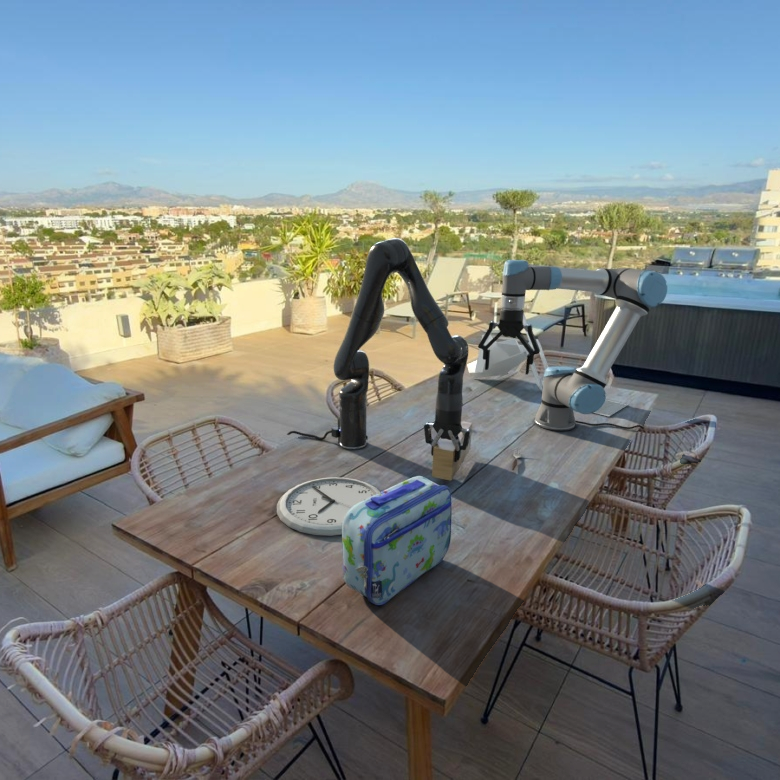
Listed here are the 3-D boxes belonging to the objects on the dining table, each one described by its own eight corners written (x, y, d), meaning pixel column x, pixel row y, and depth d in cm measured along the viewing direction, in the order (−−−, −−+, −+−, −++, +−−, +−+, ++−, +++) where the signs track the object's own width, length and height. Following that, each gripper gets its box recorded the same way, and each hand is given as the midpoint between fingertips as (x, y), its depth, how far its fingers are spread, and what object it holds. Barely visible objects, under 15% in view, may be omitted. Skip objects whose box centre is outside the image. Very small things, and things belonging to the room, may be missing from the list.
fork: (508, 471, 164) (508, 465, 164) (514, 451, 179) (515, 446, 178) (516, 472, 164) (517, 466, 163) (522, 452, 178) (523, 447, 177)
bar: (453, 445, 176) (454, 420, 173) (470, 448, 174) (472, 422, 171) (431, 476, 155) (433, 447, 152) (451, 480, 153) (453, 451, 150)
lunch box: (371, 618, 102) (371, 524, 95) (336, 591, 109) (334, 502, 103) (455, 562, 119) (460, 479, 113) (420, 542, 126) (423, 463, 120)
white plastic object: (488, 420, 264) (468, 397, 239) (469, 347, 286) (449, 319, 261) (560, 396, 252) (546, 369, 227) (534, 322, 274) (519, 290, 249)
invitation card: (608, 416, 214) (573, 407, 224) (608, 416, 214) (573, 408, 224) (628, 404, 229) (594, 396, 238) (628, 405, 229) (594, 397, 238)
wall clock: (392, 527, 129) (268, 531, 127) (391, 533, 130) (269, 537, 127) (383, 473, 158) (282, 475, 155) (383, 478, 158) (282, 480, 156)
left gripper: (421, 406, 149) (418, 459, 154) (470, 413, 144) (466, 468, 149) (428, 398, 156) (426, 450, 161) (476, 405, 151) (472, 458, 156)
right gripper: (471, 307, 172) (468, 369, 178) (550, 313, 163) (543, 378, 170) (477, 304, 179) (473, 364, 185) (552, 309, 170) (545, 372, 176)
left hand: (445, 458), depth 155 cm, fingers closed on bar, 6 cm apart
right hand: (506, 371), depth 177 cm, fingers open, 13 cm apart
